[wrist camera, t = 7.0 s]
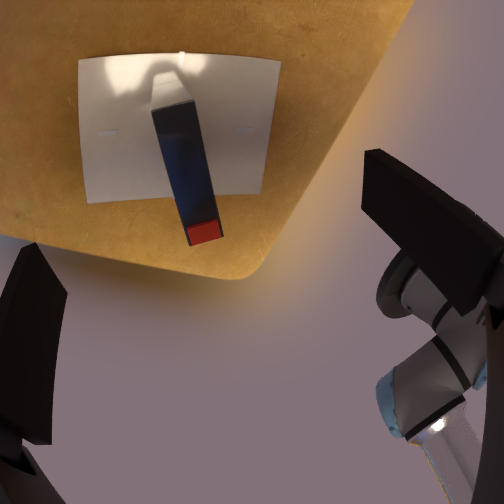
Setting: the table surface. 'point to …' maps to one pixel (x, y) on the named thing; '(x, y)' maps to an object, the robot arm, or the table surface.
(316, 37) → the table surface
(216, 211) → the tap handle
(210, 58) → the plate
